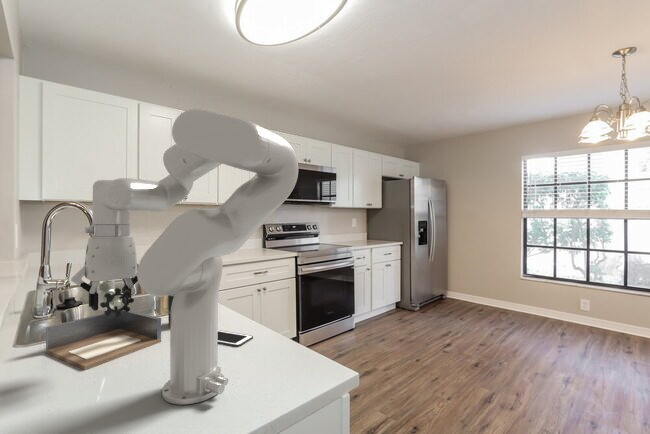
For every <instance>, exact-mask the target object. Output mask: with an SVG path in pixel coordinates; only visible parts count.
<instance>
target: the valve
mask: <svg viewBox="0 0 650 434" xmlns="http://www.w3.org/2000/svg"><path fill="white" fill-rule="evenodd" d="M97 293H98V310H97V311H104V312H103V313H104V314H105V315H107V316H108V315H110V314H111V313H112V312H114V313H115V314H114V316H115V317H119V316H120V315H121V313H120V312H121V311H123V310H124V311H126V312H129V311H131V307H130V306H129V305H130V304H132V303H134V301H135V299H134V297H131V298H128V295H129V294H130V291H129V290H125V292H124V293H122V288H120V287H119V288H118V287H116V282H115V280H108V281H100V283H99V285H98V287H97ZM122 298H125V304H123V303H122ZM122 304H123V306H121V305H122ZM128 304H129V305H128ZM119 306H121V307H120V308H118V307H119Z"/></svg>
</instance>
